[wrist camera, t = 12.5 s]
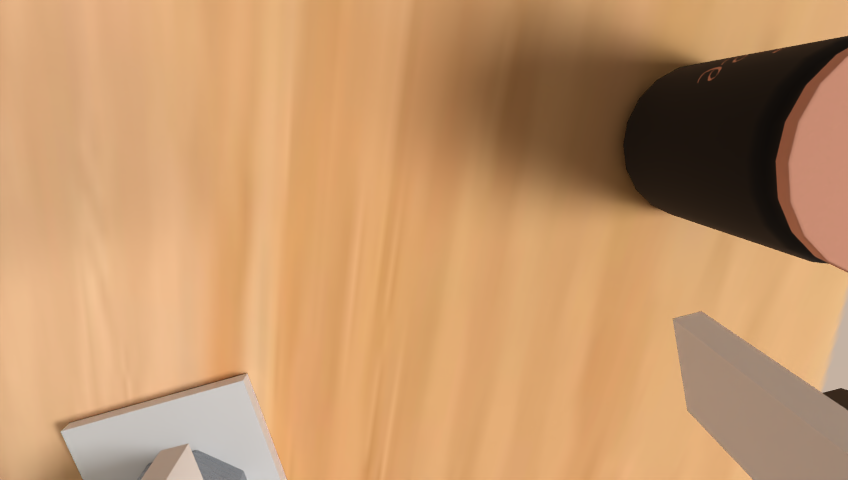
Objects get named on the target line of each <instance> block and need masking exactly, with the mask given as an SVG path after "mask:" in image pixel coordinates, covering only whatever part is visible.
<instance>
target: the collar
mask: <svg viewBox="0 0 848 480" xmlns="http://www.w3.org/2000/svg"><path fill="white" fill-rule="evenodd" d="M192 453H193V455H194V458H195V460H196V463H197V465H198V468H199V470H200V473H201V475H202V478H203V480H247V478H246V476H245V473H244V471H243V470H241V469H239V468H236V467H234V466H232V465H230V464H228V463H225V462H223V461H221V460H219V459H217V458H214V457H212V456H210V455H208V454H205V453H203V452H201V451H199V450H194V451H192ZM152 463H153V462H151V463H148V465H147V466H146V467H145V469H144V470H143V472H142V473H141V474H140V476H139V477H138V479H137V480H141V479H142V477H143V476H144V474H145V473H146V471H147V470H148V468H149V467H150V465H151V464H152Z"/></svg>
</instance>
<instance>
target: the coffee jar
mask: <svg viewBox="0 0 848 480" xmlns="http://www.w3.org/2000/svg"><path fill="white" fill-rule="evenodd" d="M623 146H624V155H625V163H626V169H627V172H628V174H629V176H630V178H631V180H632V182H633V184H634V186H635V188H636V190H637V191H638V192H639V193H640V194H641V195H642V196H643V197H644V198H645V199H646V200H647V201H648V202H649V203H650V204H651V205H653V206H655V207H657V208H659V209H661V210H663V211H665V212H667V213H669V214H671V215H674V216H677V217H680V218H683V219H686V220H689V221H692V222H695V223H698V224H701V225H704V226H707V227H710V228H713V229H716V230H719V231H722V232H725V233H728V234H731V235H734V236H737V237H740V238H743V239H746V240H749V241H752V242H755V243H758V244H761V245H764V246H767V247H769V248H772V249H775V250H778V251H781V252H784V253H787V254H790V255H793V256H796V257H799V258H802V259H805V260H808V261H811V262H818V263H828V264H831V265H833V266H835V267H837V268H839V269H842V270H844V271H846V272H848V36H845V37H840V38H834V39H829V40H823V41H818V42H813V43H807V44H802V45H796V46H791V47H786V48H780V49H775V50H769V51H764V52H759V53H753V54H748V55H742V56H737V57H732V58H726V59H721V60H715V61H710V62H705V63H700V64H695V65H690V66H685V67H680V68H678V69H676V70H674V71H672V72H671V73H669V74H667V75H665V76H663V77H662V78H660V79H658V80H657V81H656V82H655V83H654V84H653V85H652V86H651V87H650V88H649V89H648V90H647V91H646V92H645V93H644V94H643V95H642V96H641V97H640V99H639V100H638V102H637V104H636V106H635V108H634V110H633V112H632V114H631V116H630V118H629V120H628V122H627V128H626V133H625V139H624V144H623Z"/></svg>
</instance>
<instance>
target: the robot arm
mask: <svg viewBox="0 0 848 480" xmlns="http://www.w3.org/2000/svg"><path fill="white" fill-rule="evenodd" d="M673 324H674V330H675V336H676V342H677V349H678V355H679V361H680V367H681V374H682V380H683V386H684V392H685V399H686V405H687V411H688V412H689V413H690V414H691V415H692V416H693V417H694V418H695V419H696V420H697V421H698V422H699V423H700V424H701V425H702V426H703V427H704V428H705V430H706V431H707V432H708V433H709V434H710V435H711V436H712V437H713V438H714V439H715V440H716V441H717V442H718V443H719V444H720V445H721V446H722V447H723V448H724V449H725V451H726V452H727V453H728V454H729V455H730V456H731V457H732V458H733V459H734V460H735V461H736V462H737V463H738V464H739V465H740V466H741V467H742V468H743V469H744V471H745V472H746V473H747V474H748V475H749V476H750V477H751V478H752V479H753V480H848V390H845V389H842V388H840V389H836V390H832V391H828V392H824V393H821V392H820V391H818V390H817V389H815V388H814V387H813V386H811V385H810V384H808V383H807V382H805V381H804V380H802V379H801V378H799V377H798V376H796V375H795V374H793V373H792V372H790V371H789V370H787V369H786V368H784V367H783V366H781V365H780V364H779V363H777V362H776V361H774V360H773V359H771V358H770V357H768V356H767V355H765V354H764V353H762V352H761V351H759V350H758V349H756V348H755V347H753V346H752V345H750V344H749V343H747V342H746V341H745V340H743V339H742V338H740V337H739V336H737V335H736V334H734V333H733V332H731V331H730V330H728V329H727V328H725V327H724V326H722V325H721V324H719V323H718V322H716V321H715V320H713V319H712V318H711V317H709V316H708V315H706V314H705V313H703V312H702V311H701V312H697V313H693V314H689V315H685V316H681V317H677V318H673ZM141 480H203V478H202V475H201V473H200V470H199V468H198V465H197V463H196V460H195V458H194V455H193V453H192V451H191V448H190V446H189V443H188V444H184V445H180V446H177V447H173V448H169V449H165V450H161V451H160V452H159V454H158V455H157V457H156V458H155V460H154V461H153V463H152V464H151V465H150V467H149V468H148V470H147V471H146V473H145V474H144V476H143V477H142V479H141Z"/></svg>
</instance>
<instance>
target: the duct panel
mask: <svg viewBox="0 0 848 480" xmlns="http://www.w3.org/2000/svg"><path fill="white" fill-rule="evenodd" d="M60 432H61V434H62V436H63V438H64V440H65V442H66V444H67V447H68V449H69V451H70V453H71V455H72V457H73V460H74V462H75V464H76V466H77V468H78V470H79V472H80V475H81V477H82V479H83V480H137V479H138V477H139V476H140V474H141V473H142V472H143V470H144V469H145V467H146V466H147V465H148V463H151V462H153V461H154V460H155V458H156V457H157V455H158V454H159V452H160V451H161V450H165V449H169V448H173V447H177V446H180V445H184V444H188V443H189V446H190V448H191V451H194V450H199V451H201V452H203V453H205V454H208V455H210V456H212V457H214V458H217V459H219V460H221V461H223V462H225V463H228V464H230V465H232V466H234V467H236V468H239V469H241V470H243V471H244V473H245V476H246V478H247V480H287V478H286V476H285V473H284V470H283V468H282V465H281V462H280V460H279V457H278V454H277V451H276V449H275V446H274V443H273V441H272V438H271V435H270V433H269V430H268V427H267V425H266V422H265V419H264V417H263V414H262V411H261V408H260V406H259V403H258V400H257V398H256V395H255V392H254V390H253V387H252V384H251V382H250V379H249V376H248V374H247V373H246V374H243V375H239V376H236V377H232V378H228V379H225V380H221V381H218V382H214V383H211V384H207V385H203V386H200V387H196V388H193V389H189V390H186V391H182V392H178V393H175V394H171V395H168V396H164V397H160V398H157V399H153V400H150V401H146V402H143V403H139V404H135V405H132V406H128V407H125V408H121V409H118V410H114V411H110V412H107V413H103V414H100V415H96V416H93V417H89V418H85V419H82V420H78V421H75V422H71V423H69V424H68V425H67V426H66V427H65V428H64V429H63V430H61V431H60Z"/></svg>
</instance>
